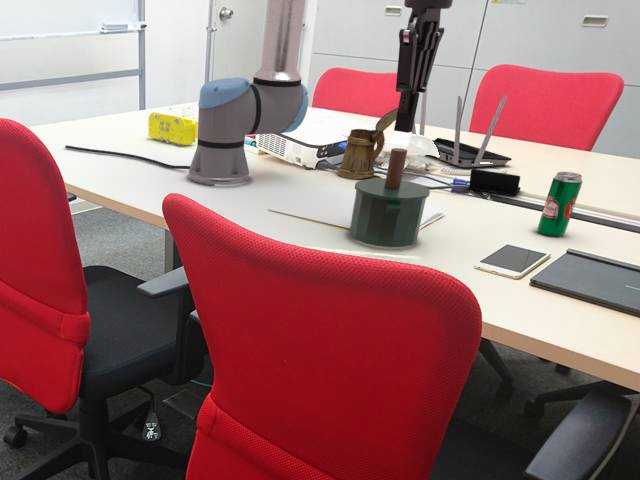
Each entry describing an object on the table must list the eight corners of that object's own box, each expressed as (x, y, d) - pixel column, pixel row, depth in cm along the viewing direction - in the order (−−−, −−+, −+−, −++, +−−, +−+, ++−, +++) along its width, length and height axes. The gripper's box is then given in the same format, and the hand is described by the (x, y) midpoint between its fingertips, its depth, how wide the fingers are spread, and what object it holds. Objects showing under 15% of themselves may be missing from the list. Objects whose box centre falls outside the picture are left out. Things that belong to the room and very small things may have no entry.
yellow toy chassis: (147, 139, 207) (147, 111, 203) (160, 137, 210) (160, 109, 206) (182, 147, 197) (183, 118, 193) (195, 145, 200) (197, 116, 196)
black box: (521, 182, 162) (525, 154, 153) (518, 205, 159) (523, 178, 151) (470, 182, 167) (471, 155, 158) (467, 205, 164) (468, 179, 156)
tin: (349, 251, 122) (358, 201, 117) (348, 221, 137) (355, 176, 132) (420, 257, 120) (432, 206, 115) (410, 227, 135) (420, 181, 130)
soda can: (531, 229, 135) (549, 171, 129) (554, 229, 135) (573, 171, 129) (545, 237, 131) (565, 177, 125) (569, 237, 131) (590, 177, 125)
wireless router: (525, 171, 179) (548, 93, 169) (455, 176, 173) (474, 95, 163) (446, 145, 207) (462, 77, 197) (383, 148, 201) (395, 78, 191)
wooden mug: (372, 185, 163) (386, 109, 154) (330, 173, 173) (341, 101, 164) (394, 180, 168) (409, 106, 159) (352, 169, 177) (364, 99, 168)
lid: (355, 200, 119) (362, 155, 115) (353, 182, 131) (360, 140, 127) (432, 207, 117) (443, 160, 113) (424, 187, 128) (433, 144, 124)
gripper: (438, -20, 100) (406, 139, 112) (470, -18, 108) (437, 129, 120) (392, -20, 104) (366, 132, 116) (426, -19, 113) (399, 123, 125)
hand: (402, 131), depth 118 cm, fingers closed
